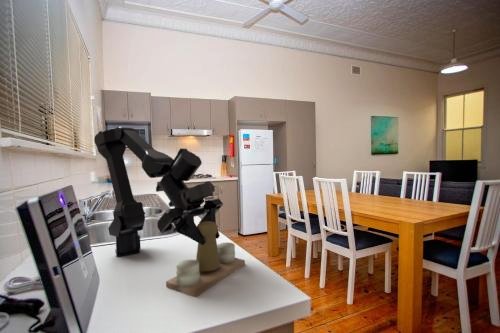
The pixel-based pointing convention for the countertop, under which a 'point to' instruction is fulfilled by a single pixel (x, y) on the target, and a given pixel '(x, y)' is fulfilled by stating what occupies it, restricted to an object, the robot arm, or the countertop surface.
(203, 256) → the olive pepper mill
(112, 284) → the countertop surface
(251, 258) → the countertop surface
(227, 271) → the spice board
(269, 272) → the countertop surface
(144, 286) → the countertop surface
